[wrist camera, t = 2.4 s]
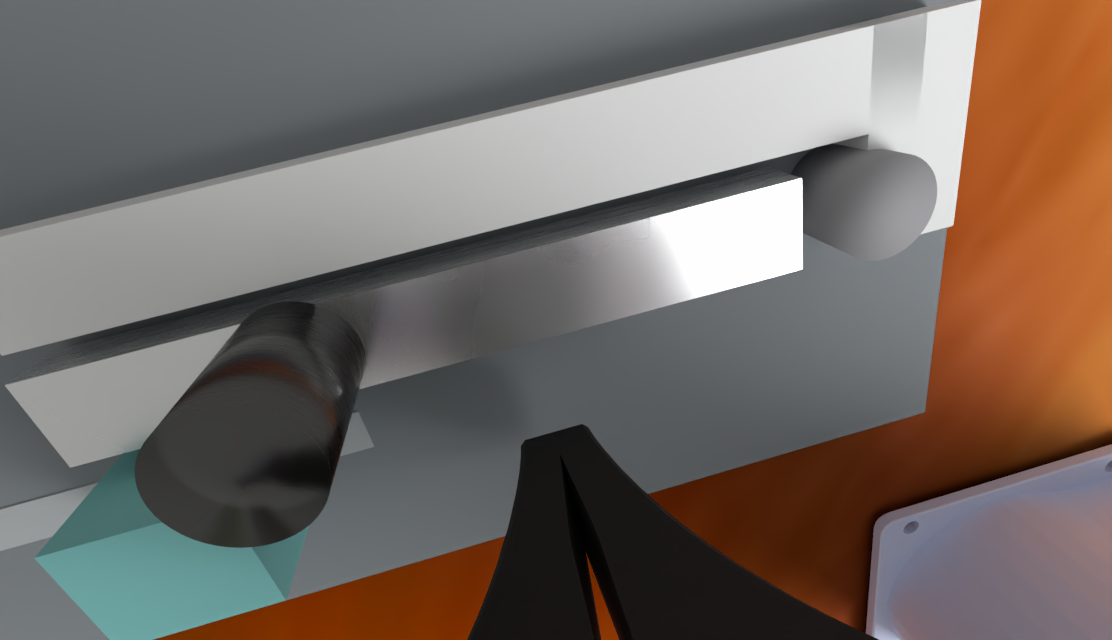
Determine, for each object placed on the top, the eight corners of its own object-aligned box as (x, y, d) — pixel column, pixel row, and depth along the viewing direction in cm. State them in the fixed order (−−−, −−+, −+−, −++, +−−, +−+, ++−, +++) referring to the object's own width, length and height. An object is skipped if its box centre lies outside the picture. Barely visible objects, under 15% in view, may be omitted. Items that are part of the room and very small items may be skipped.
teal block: (273, 408, 11) (223, 505, 9) (318, 492, 12) (286, 600, 10) (127, 447, 11) (33, 558, 9) (186, 531, 12) (118, 649, 10)
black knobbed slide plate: (767, 156, 11) (946, 208, 7) (770, 259, 12) (929, 354, 8) (45, 341, 10) (-221, 522, 6) (113, 436, 11) (-77, 643, 7)
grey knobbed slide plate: (984, -343, 9) (1153, -473, 7) (908, 400, 16) (981, 453, 13) (-732, -5, 7) (-1230, -35, 5) (4, 664, 14) (-77, 773, 12)
